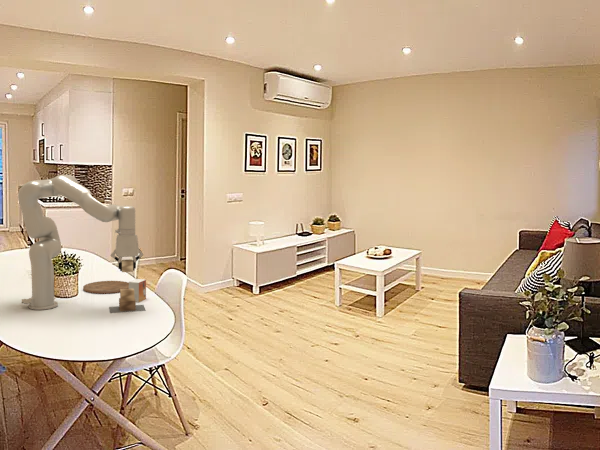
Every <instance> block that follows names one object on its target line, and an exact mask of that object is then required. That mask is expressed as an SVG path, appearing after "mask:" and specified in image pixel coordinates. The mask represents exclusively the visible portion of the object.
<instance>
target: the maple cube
mask: <svg viewBox="0 0 600 450" xmlns="http://www.w3.org/2000/svg"><path fill="white" fill-rule="evenodd" d="M121 262H122V271H121V273H133V272H134V271H133V258H131V259H130V258H129V259H121Z"/></svg>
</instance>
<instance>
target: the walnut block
mask: <svg viewBox="0 0 600 450" xmlns="http://www.w3.org/2000/svg"><path fill="white" fill-rule="evenodd" d="M136 305H137V302H136V301H135V298H134V301H122V302H121V299H120V297H119V298H118V306H119V309H120V311H131V310H136Z"/></svg>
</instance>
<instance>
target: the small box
mask: <svg viewBox="0 0 600 450" xmlns="http://www.w3.org/2000/svg"><path fill="white" fill-rule="evenodd" d="M128 283H129V289H134V298H135V301H136V303H140V302H143V301H144V300H146V299H147V279H144V278H135V279H133V280H131V281H128Z"/></svg>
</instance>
